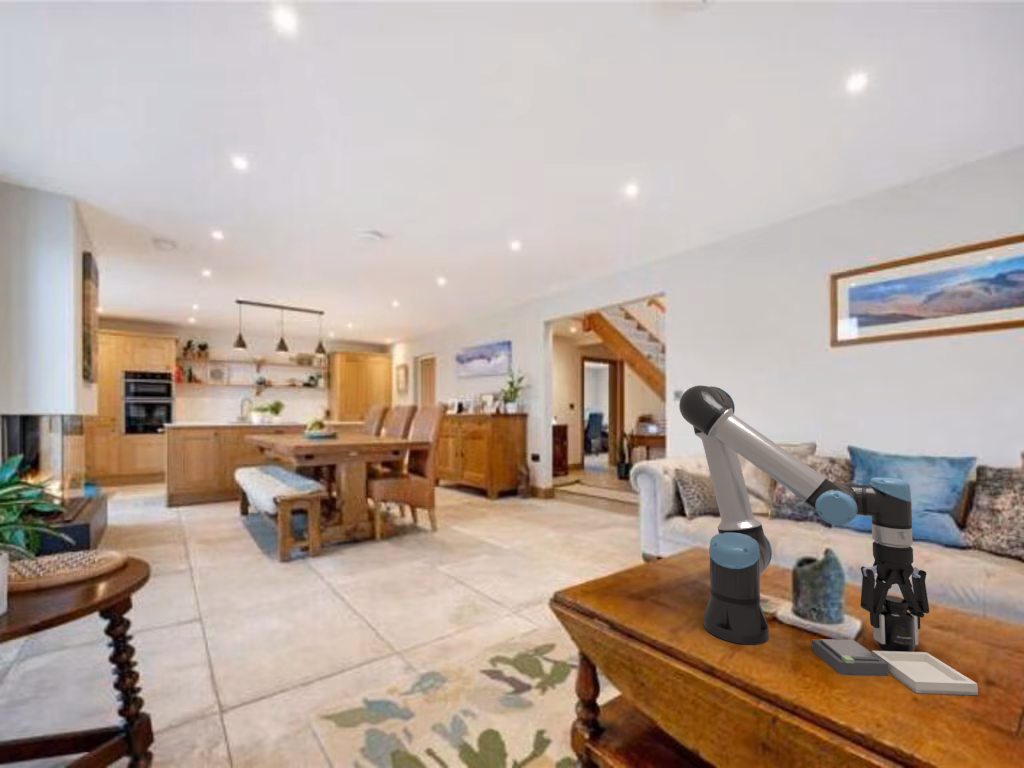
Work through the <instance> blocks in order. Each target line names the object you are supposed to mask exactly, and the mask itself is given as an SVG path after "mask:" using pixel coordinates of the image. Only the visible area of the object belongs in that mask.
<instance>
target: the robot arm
mask: <svg viewBox="0 0 1024 768" xmlns="http://www.w3.org/2000/svg"><path fill="white" fill-rule="evenodd" d="M734 402H735V401H734V400H733V397H732V396H731V395H730V394H729V393H728V392H727V391H725V390H724V389H722V388H720V387H717V386H711V385H710V386H707V385H694V386H692V387H689V388H688V389H686V390H685V391H684V393H683V394H682V395H681V396H680V400H679V405H678V407H679V412H680V415H681V416H682V418H683V419H684V420H685V422H687V423H689V424H690V425H691V426H693V431H694V434H695V436H697V437H698V438H699V439H701V442H702V445H703V450H704V454H705V458H706V459H705V460H706V462H707V466H708V472H709V475H710V479H711V483H712V487H713V490H714V491H713V492H714V494H715V500H716V504H717V507H718V511H719V516H720V520H721V521H720V523H719V524H718V526H717V530H718V534H715V535H713V536H712V537H711V538H710V542H709V548H708V551H709V552H708V553H709V583H710V585H709V588H710V591H709V593H710V595H709V599H708V601H707V604H706V607H705V611H704V613H703V627H704V629H705V630H706V631H707V632H708V633H710V634H711V635H713V636H715V637H717V638H719V639H721V640H724V641H727V642H731V643H735V644H741V645H759V644H763V643H766V642H767V641H768V640H769V638H770V637H769V635H770V634H769V625H768V623H767V619H766V616H765V614H764V611H763V608H762V605H761V586H760V585H761V581H760V580H761V575H762V574H763V572H765V569H767V567H768V566H769V565H770V563H771V560H772V554H773V549H772V544H771V542H770V540H769V539H768V537H767V536H766V535H765V532H764V529H763V525H762V522H761V521H760V520H758V519H757V518H755V516H754V513H753V509H752V508H753V507H752V505H751V501H750V496H749V494H748V493H749V492H748V490H747V485H746V481H745V478H744V474H743V469H742V465H741V463H740V459H739V455H740V456H741V457H742V458H744V459H746V460H747V461H748V462H750V463H751V464H752V465H753V466H755V467H756V468H757V469H759V470H760V471H762V472H763V473H765V474H766V475H767V476H768V477H770V478H771V479H773V481H776V482H777V483H778V484H780V486H783V487H784V488H785V489H786V490H788V491H789V492H791V493H792V494H793V495H795V496H796V497H798V498H799V499H800V500H802V501H803V502H804V503H806V504H807V505H808V506H809V507H811V508H812V509H814V510H815V511H816V513H817V515H818V516H819V517H820V518H821V519H822V520H823V521H824V522H826V523H828V524H831V525H833V526H834V525H835V526H844V525H847V524H849V523H851V522H852V521H853V520H854V519H855V518H856V516H857V515H858V516H859V515H860V516H866V517H871V539H872V540H873V542H872V556H873V559H874V562H873V565H872V566H868V567H865V566H861V567H860V572H861V575H862V578H861V579H862V581H861V593H860V604H859V605H860V607H861V608H862V609H863V610H865V611H867V612H869V623H870V627H872V628H873V630H872V631H873V633H872V635H873V639H874V640H875V641H876V642H877V641H878V642H880V643H881V644H885V619H884V615H882V614H881V611H882V608H883V605H884V602H885V599H886V596H887V595H888V593H889V590H890V589H891V588H892V587H893V585H896V584H897V586H898V587H899V589H900V593H901V595H902V599H904V600H906V601H907V602H908V611H907V612H908V613H910V614H911V615H912V617H913V619H914V646H919V630H921V618H924V617H925V614H929V613H930V604H929V599H928V593H927V587H926V586H927V585H926V578H927V571H925V570H924V569H920V568H918V567H914V566H913V563H914V548H913V547H912V545H914V543H913V523H912V521H913V520H912V519H913V518H912V517H913V516H912V513H913V512H912V497H911V494H912V493H911V486H910V484H909V482H908V481H906V480H904V479H900V478H894V477H880V476H879V477H876V476H875V477H872V478H870V482H869V484H855V483H845V482H837V481H836V482H835V481H831V480H829V479H828V478H826V477H825V476H823V474H821V473H819V472H817V470H815V469H814V468H812V467H811V466H809V465H808V464H806V463H805V462H804V461H802V460H800V459H799V458H797V457H796V456H794V455H793V454H792V453H790V452H788V451H787V450H786V449H784V448H783V447H781V446H780V445H779V444H777V443H776V442H774V441H773V440H772V439H770V438H768V437H767V436H766V435H764V434H763V433H761V432H760V431H758V429H757V430H756V428H754V427H753V426H751V425H749V423H747V422H745V421H744V420H742V419H741V418H739V417H738V416H737V415H735V403H734ZM738 454H739V455H738ZM910 578H911V579H910Z"/></svg>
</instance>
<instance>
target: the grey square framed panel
mask: <svg viewBox="0 0 1024 768" xmlns="http://www.w3.org/2000/svg"><path fill="white" fill-rule="evenodd" d="M821 639H822V638H820V639H817V638H815V639H813V638H811V650H812V652H813V653H815V654H816V655H817V656H818V657H819V658H820V659H822V660H823V661H824V662H825V663H827V665H829V666H830V667H831V668H832V669H833V670H834V671H836V672H837V673H838V674H839V675H854V676H858V675H859V676H884V677H888V676H889V673H888V664H887V663H886V662H884V661H883V660H882V659H880V658H879V657H878V656H876V655H875V654H873V653H872V650H869V649H868V648H866V647H865V646H864V645H862V644H861V643H860V642H858V641H857V640H855V639H853V640H854V641H855V642H857V643H858V644H859V645H861V646H862V647H864V648H865V649H866V650H868V651H869V652H871V653H872V654H873V655H875V656H876V657H877V661H860V660H854V659H853V658H851V657H850V656H842V655H841V658H842V660H841V659H840V658H838V657H837V656H836V655H835V654H834V653H832V652H831V651H830V650H829V649H827V648H826V647H825V646H824V645H822V644H821Z"/></svg>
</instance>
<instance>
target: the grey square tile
mask: <svg viewBox="0 0 1024 768" xmlns="http://www.w3.org/2000/svg"><path fill="white" fill-rule="evenodd" d="M820 639H821V644H822V645H824V646H825V647H826V648H827V649H829V650H830V651H831V652H832V653H834V654H835V655H836V656H837V657H838V658H840V659H841V660H842V658H841V655H842V656H850V657H851V658H853V659H854V660H860V661H877V657H876V656H875V655H873V654H872V653H871V652H872V651H871V652H869V651H870V650H869V649H868V650H869V651H868V650H866V649H867V648H866V647H865V646H864V647H865V648H866V649H865V648H864V647H862V646H863V645H862V644H861V645H862V646H861V645H859V644H860V643H859V642H858V641H857V642H858V643H859V644H858V643H857V642H855V641H856V640H855V639H834V638H833V639H830V638H827V639H826V638H825V639H824V638H820ZM854 640H855V641H854Z"/></svg>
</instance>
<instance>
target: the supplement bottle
mask: <svg viewBox="0 0 1024 768" xmlns="http://www.w3.org/2000/svg"><path fill="white" fill-rule="evenodd" d="M908 612H909V610H908V602H907V601H906V600H904V598H903V597H898V596H894V595H890V594H887V596H886V599H885V602H884V605H883V608H882V611H881V614H882V615H884V619H885V644H881V643H880V642H878V641H877V640H876V642H877V646H878V647H879V648H880V650H881V651H898V652H915V645H914V619H913V617H912V615H911V614H910V612H909V613H908Z"/></svg>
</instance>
